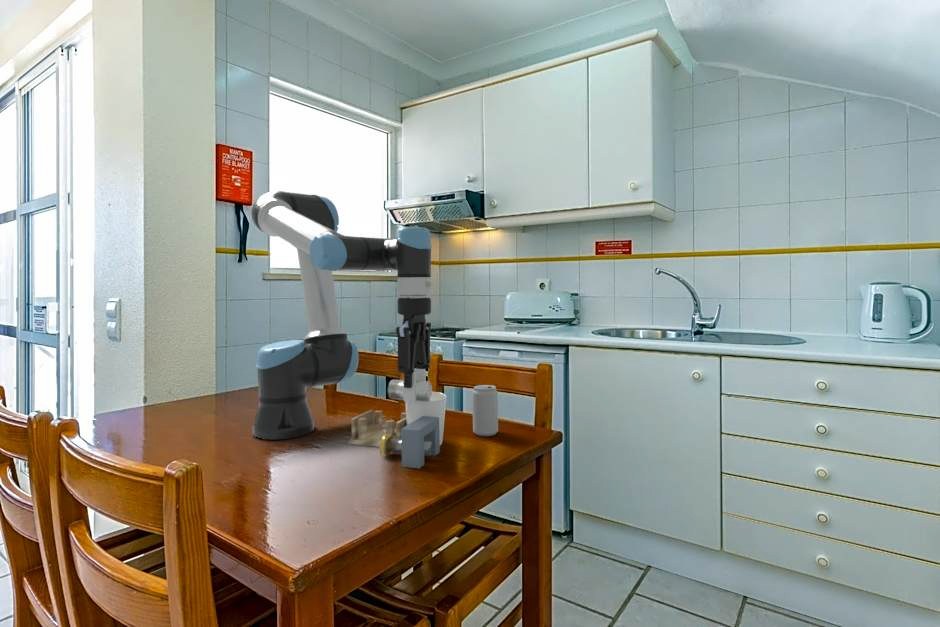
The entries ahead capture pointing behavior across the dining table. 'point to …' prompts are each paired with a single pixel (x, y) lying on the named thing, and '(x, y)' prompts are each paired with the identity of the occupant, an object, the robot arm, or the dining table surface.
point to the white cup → (428, 410)
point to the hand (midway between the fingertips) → (414, 398)
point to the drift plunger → (399, 445)
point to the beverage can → (485, 410)
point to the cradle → (374, 428)
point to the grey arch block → (419, 440)
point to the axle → (421, 390)
